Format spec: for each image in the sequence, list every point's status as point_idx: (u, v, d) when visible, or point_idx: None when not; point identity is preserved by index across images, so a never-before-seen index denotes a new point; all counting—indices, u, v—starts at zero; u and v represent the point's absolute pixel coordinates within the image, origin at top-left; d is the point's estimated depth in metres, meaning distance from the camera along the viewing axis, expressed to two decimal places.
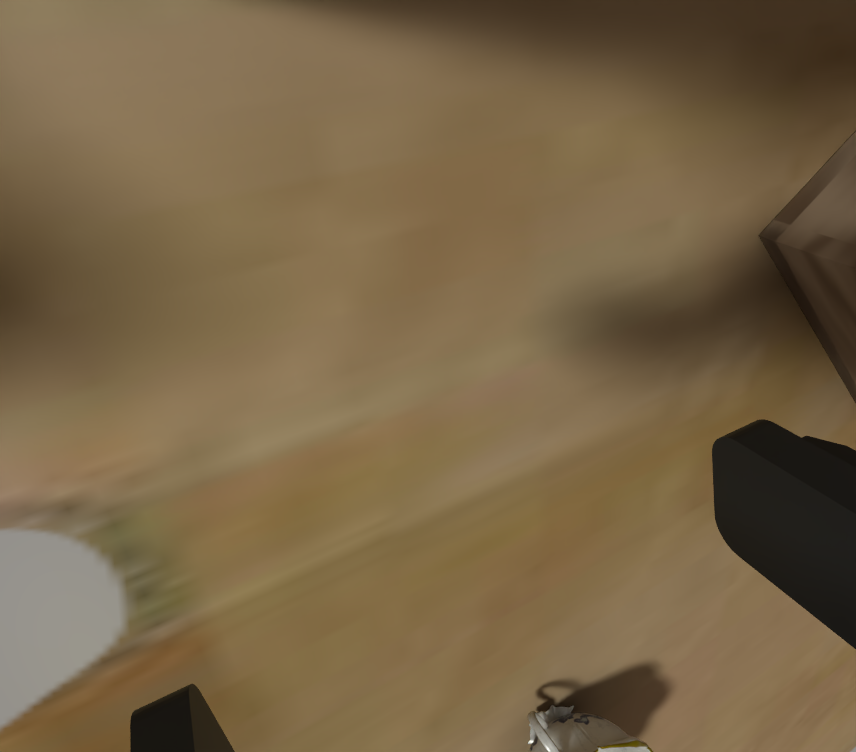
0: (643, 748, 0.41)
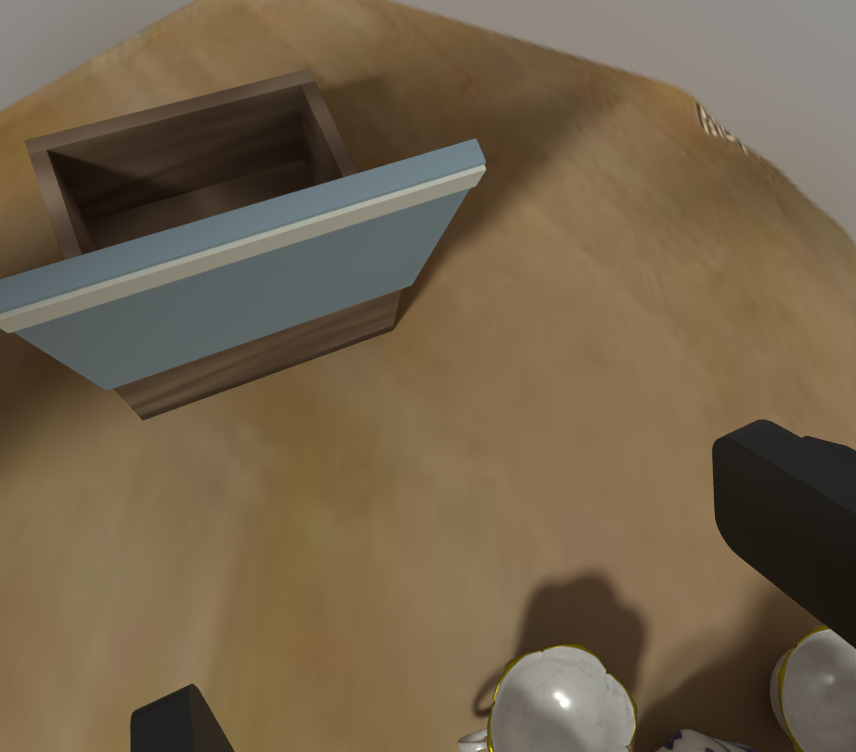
0: (545, 653, 0.41)
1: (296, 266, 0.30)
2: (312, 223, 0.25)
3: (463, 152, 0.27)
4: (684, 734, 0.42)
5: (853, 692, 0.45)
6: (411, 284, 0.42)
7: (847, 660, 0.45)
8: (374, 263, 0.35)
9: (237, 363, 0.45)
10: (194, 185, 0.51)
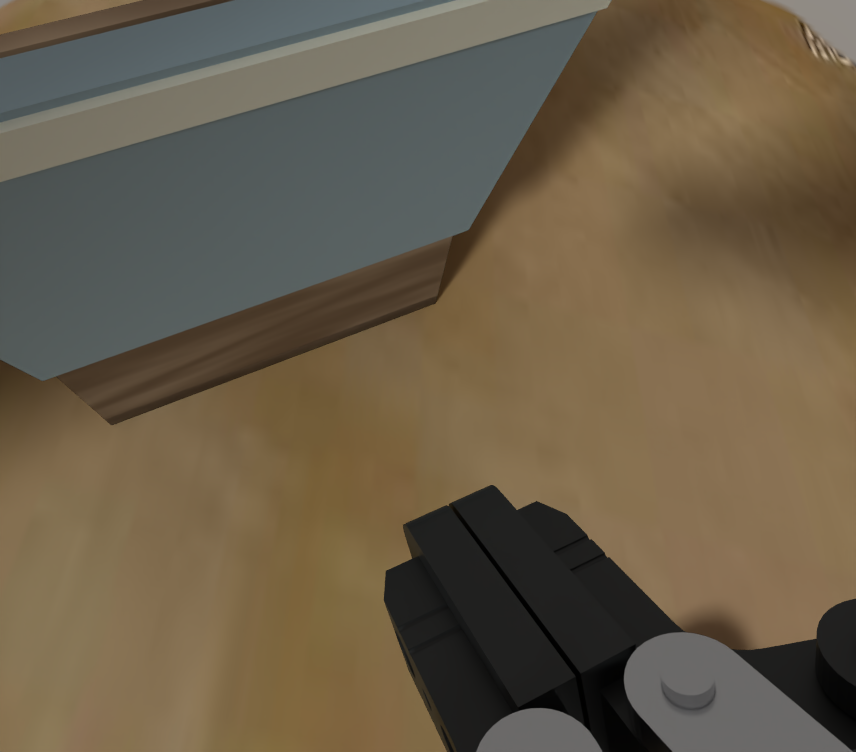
0: None
1: (307, 162, 0.19)
2: (334, 43, 0.14)
3: None
4: None
5: None
6: (468, 228, 0.31)
7: None
8: (425, 176, 0.23)
9: (233, 344, 0.33)
10: None
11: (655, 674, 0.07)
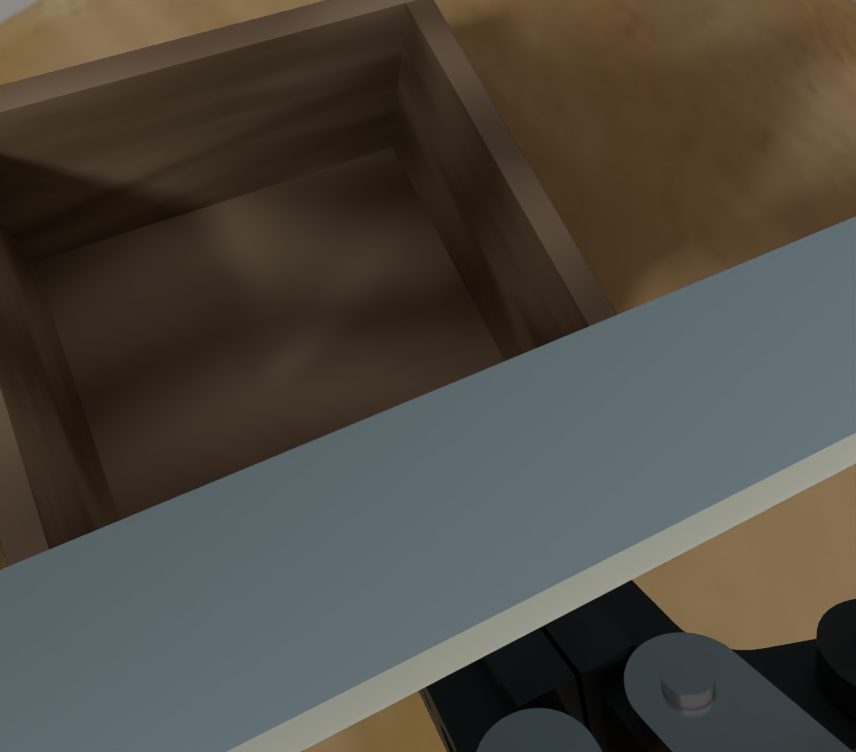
0: None
1: None
2: None
3: None
4: None
5: None
6: None
7: None
8: None
9: None
10: (214, 195, 0.30)
11: (655, 674, 0.07)
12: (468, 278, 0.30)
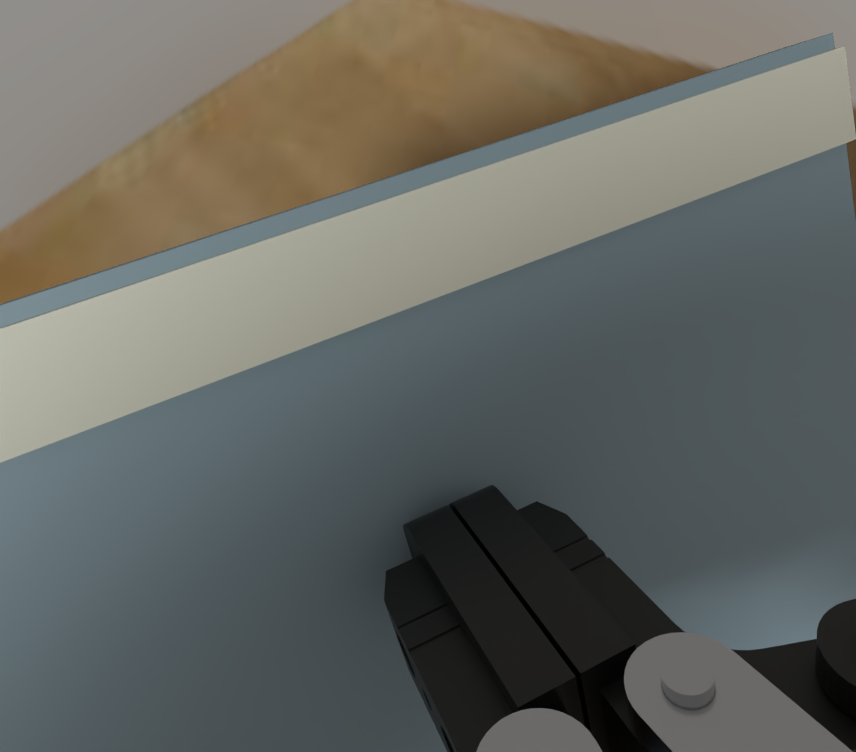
0: None
1: (516, 497, 0.11)
2: (456, 177, 0.10)
3: (770, 52, 0.12)
4: None
5: None
6: None
7: None
8: (753, 566, 0.13)
9: None
10: None
11: (655, 674, 0.07)
12: None
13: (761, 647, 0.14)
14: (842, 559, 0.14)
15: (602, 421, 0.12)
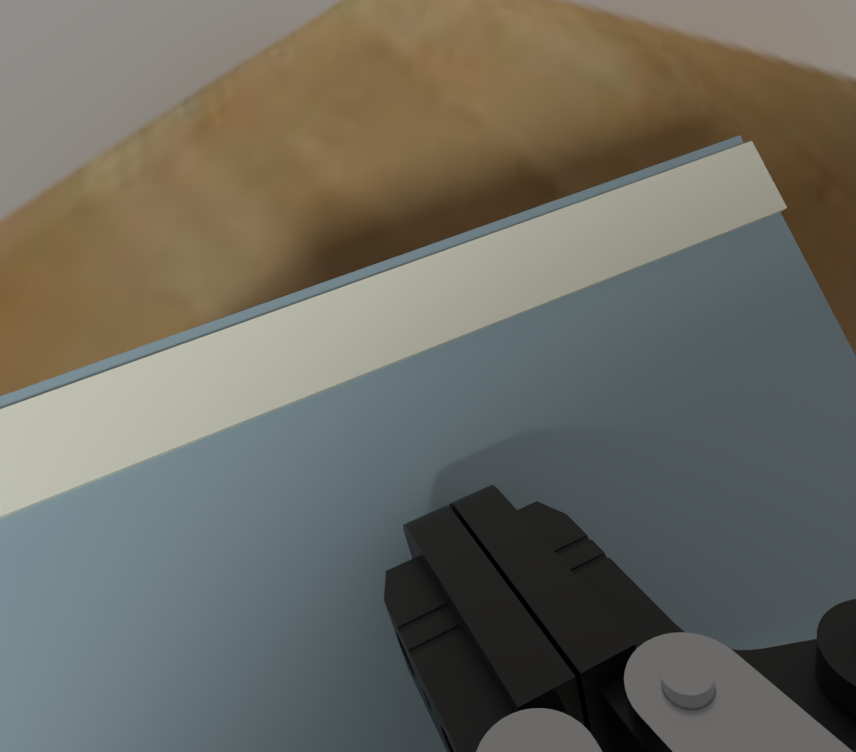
0: None
1: None
2: (428, 257, 0.12)
3: None
4: None
5: None
6: None
7: None
8: (812, 628, 0.12)
9: None
10: None
11: (655, 674, 0.07)
12: None
13: None
14: None
15: (599, 464, 0.12)
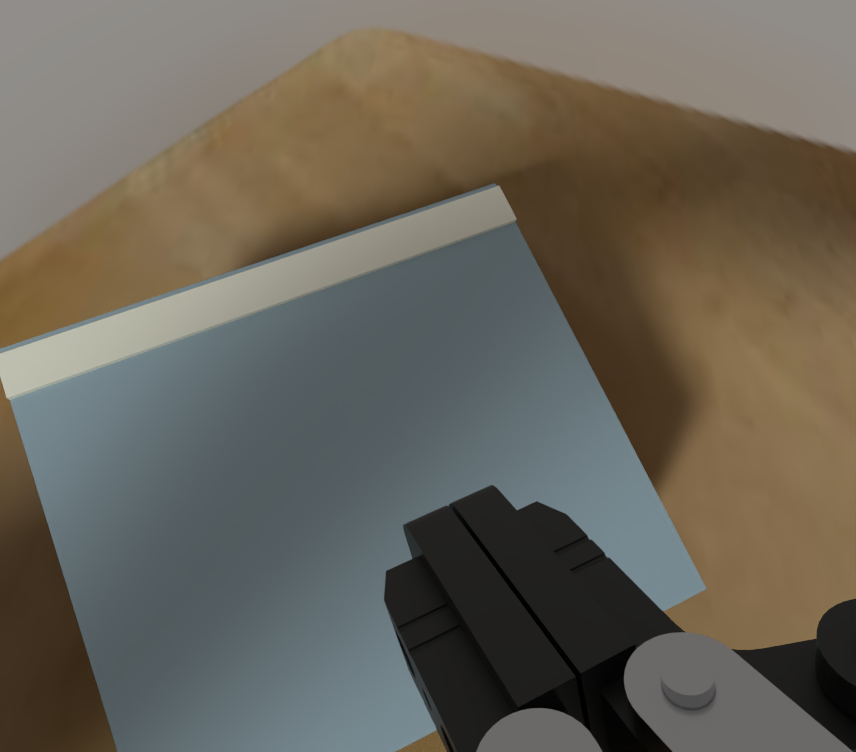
0: None
1: (364, 378, 0.24)
2: (321, 246, 0.25)
3: None
4: None
5: None
6: (701, 583, 0.23)
7: None
8: (516, 426, 0.24)
9: None
10: None
11: (655, 674, 0.07)
12: None
13: (536, 477, 0.23)
14: (580, 426, 0.24)
15: (406, 345, 0.24)
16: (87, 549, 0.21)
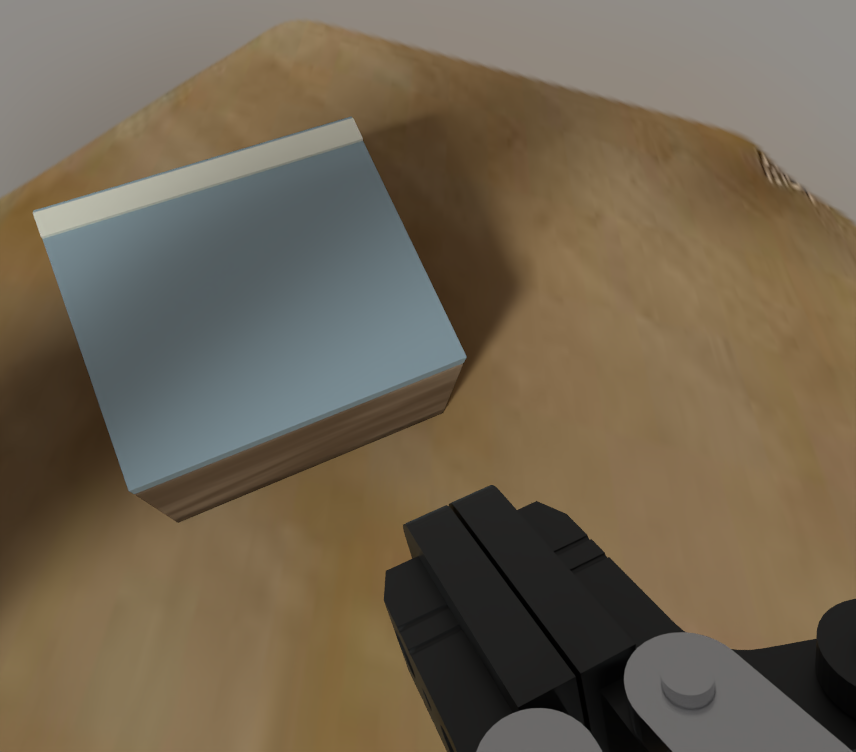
0: None
1: (260, 232, 0.38)
2: (235, 153, 0.39)
3: None
4: None
5: None
6: (464, 354, 0.38)
7: None
8: (354, 261, 0.39)
9: (280, 463, 0.41)
10: None
11: (655, 674, 0.07)
12: None
13: (365, 291, 0.38)
14: (395, 263, 0.39)
15: (287, 213, 0.39)
16: (89, 322, 0.36)
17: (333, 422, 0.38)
